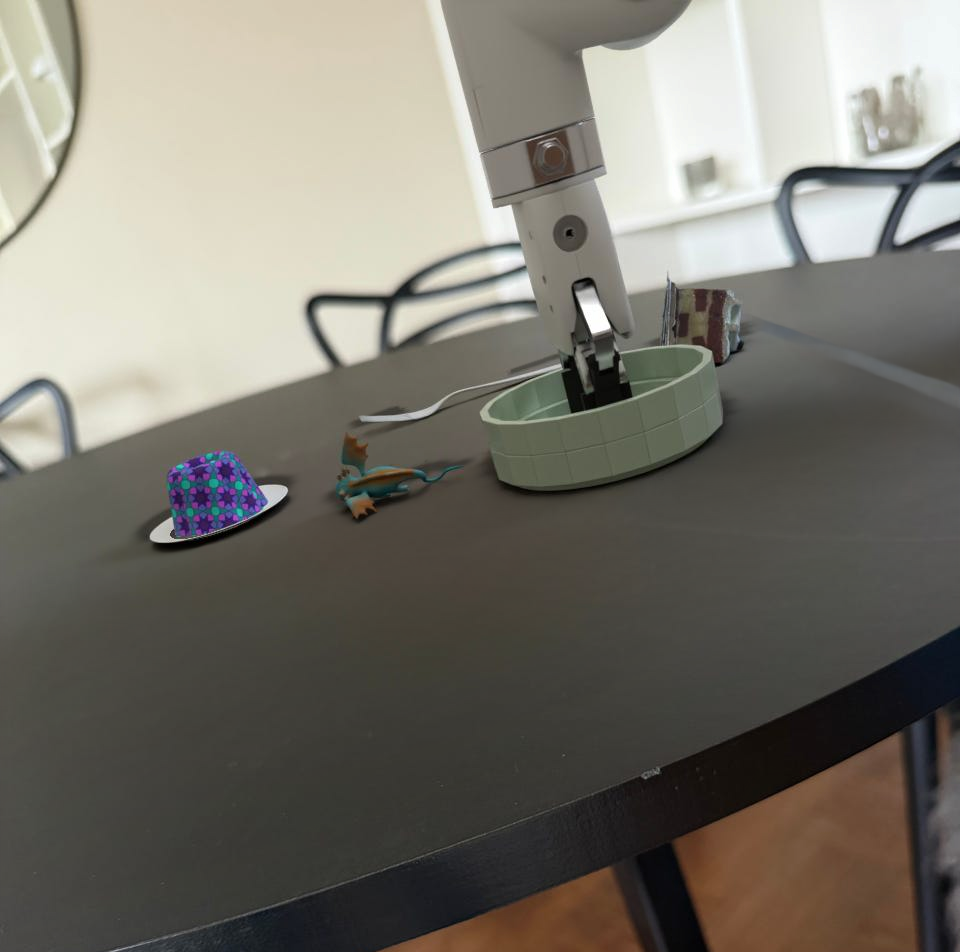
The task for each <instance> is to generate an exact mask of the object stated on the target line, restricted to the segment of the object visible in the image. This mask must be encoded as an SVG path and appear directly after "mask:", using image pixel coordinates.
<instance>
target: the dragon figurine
mask: <svg viewBox="0 0 960 952" xmlns="http://www.w3.org/2000/svg"><path fill="white" fill-rule="evenodd" d="M358 438H359V435H357V436H351V435H349V433H348V431H345V434H344V438H343V443H342V449H341V456H340V462H341V464H342V465H344V466H345V467H343V466H341V469H340V472H341V473H338V474H337V475H336V477H337V478H336V480H337V481H336V484H335V487H334V488H335V490H334V491H335V494H336V496H337V498H339V499H340V500H341V501H343V502H346V505H347V506H348V508H349V509H350V512H352V514H353V516H354V517H355V518H356V519H358V518H359V516H360V515H365V516H368V513H367V512H366V509H369V510H372V511H373V512H374V513H378V511H377V510H376V508H375V507H374V505H373V504H375V502H374V501H373V500H372V499H377V500H378V499H384V498H389V497H391V495H392V494H396V493H397V494H398V493H404V492H408V491H410V488H409V486H408V485H407V484H406V485H400V484H403V483H404V482H406V481H409V480H414V479H418V480H419V479H420V480H421V481H422V482H424V483H435V482H438V481H439V480H441V479H442V478H443V477H444V476H445V475H446V473H448V472H451V471H453V470H458V469H460V468H464V465H454V466H450V467H448V468H446V469H444V470H443V471H442V472H441V473H440V475H439V476H437V477H434V478H427V475H426V472H424V471H422V470H419V469H413V468H399V467H398V468H397V467H394V466H389V465H383V466H382V465H381V466H376V467H374V468H372V469H370V470H367V471H366V469H365V468H366V467H365V466H366V461H367V459H368V457H369V454H367V448H368V445H369V441H368V442H365V444H362V445H359V444H358V442H357V441H358ZM347 466H354V467H355V468H356V469H357V470H358V471H359V473H360V476H358V477H354V476H353V475H352V474H351V473H350V469H349V468H348V467H347Z"/></svg>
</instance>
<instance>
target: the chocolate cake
mask: <svg viewBox="0 0 960 952" xmlns="http://www.w3.org/2000/svg"><path fill="white" fill-rule="evenodd" d="M666 271H667V274H669V270H666ZM666 276H667V277H666V290H665V295H664V302H663V305H664V306H663V311H662V315H661V317H662V324H661V331H660V340H659V341H660V342H659V346H667V345H681V344H682V345H695V346H703V347H705V348H707V349H709V350H711V351H712V353H713V359H714V364H724V362H725V361H726V360H727V359H728V358H729V356H730V352H735V351H741V350H743V348H744V346H745V342H744V341H743V340H741V339H740V337H739V334H740V331H741V329H740V328H741V318H742V312H741V309H742V305H743V302H742V301H741V300H740V299H738V298H735V295H734V291H733V290H730V289H722V288H721V289H719V288H691V287H688V288H687V287H686V288H678V287H677V284H676V283H675V282H674V281H671V280H670V277H669V275H666Z"/></svg>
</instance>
